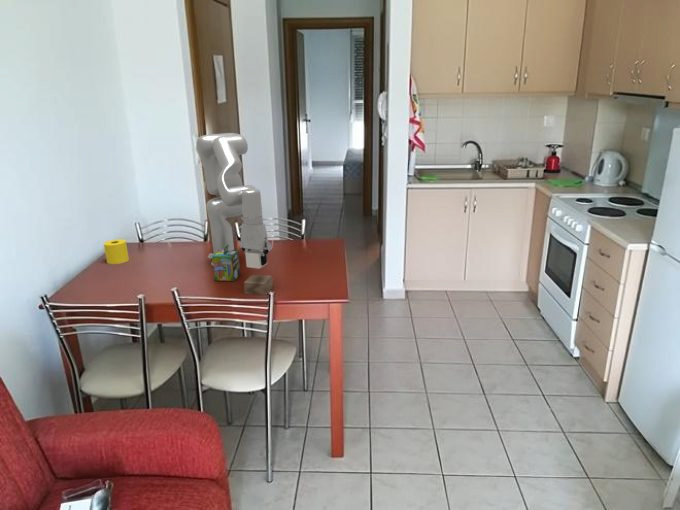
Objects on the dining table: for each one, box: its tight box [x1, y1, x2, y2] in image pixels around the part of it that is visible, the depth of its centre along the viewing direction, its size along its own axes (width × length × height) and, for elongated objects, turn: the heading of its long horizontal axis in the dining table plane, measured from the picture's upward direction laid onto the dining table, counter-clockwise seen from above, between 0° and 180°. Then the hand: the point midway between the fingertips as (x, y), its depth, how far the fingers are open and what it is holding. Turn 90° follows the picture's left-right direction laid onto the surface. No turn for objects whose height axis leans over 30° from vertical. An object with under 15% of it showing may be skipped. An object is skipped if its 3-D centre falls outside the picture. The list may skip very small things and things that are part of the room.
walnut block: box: [243, 274, 274, 296], centre depth 215 cm, size 9×9×5 cm
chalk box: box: [211, 245, 241, 282], centre depth 229 cm, size 9×9×15 cm
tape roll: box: [103, 238, 130, 265], centre depth 257 cm, size 10×10×9 cm
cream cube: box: [244, 249, 267, 269], centre depth 211 cm, size 6×6×6 cm
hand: (256, 263), depth 212 cm, fingers closed on cream cube, 6 cm apart
